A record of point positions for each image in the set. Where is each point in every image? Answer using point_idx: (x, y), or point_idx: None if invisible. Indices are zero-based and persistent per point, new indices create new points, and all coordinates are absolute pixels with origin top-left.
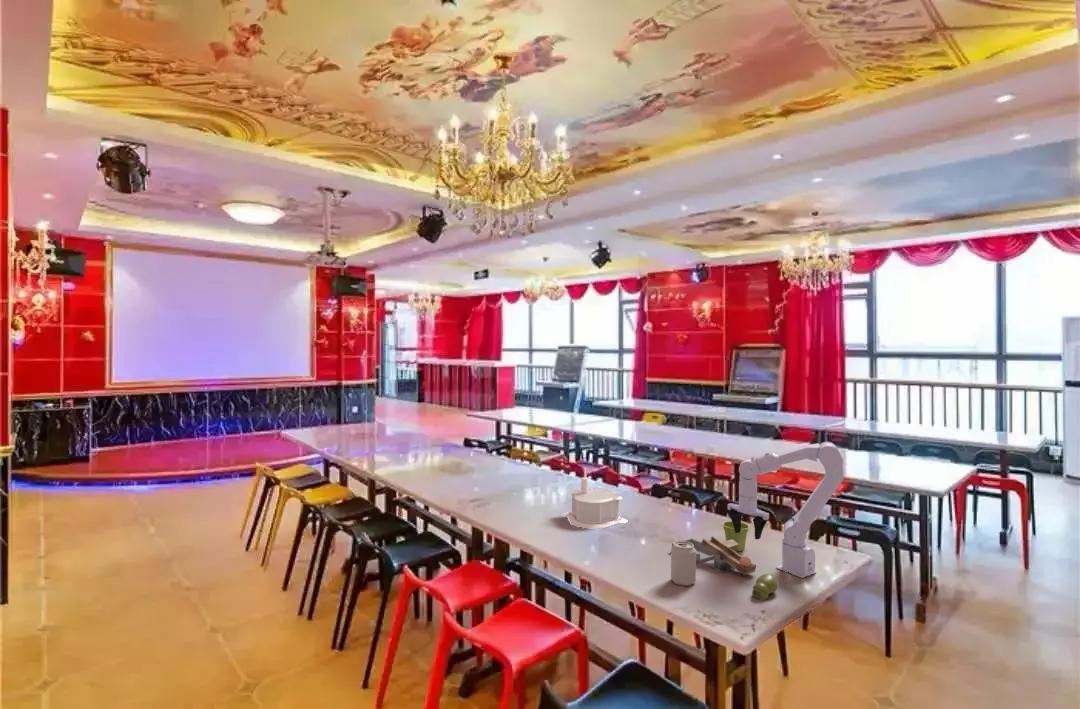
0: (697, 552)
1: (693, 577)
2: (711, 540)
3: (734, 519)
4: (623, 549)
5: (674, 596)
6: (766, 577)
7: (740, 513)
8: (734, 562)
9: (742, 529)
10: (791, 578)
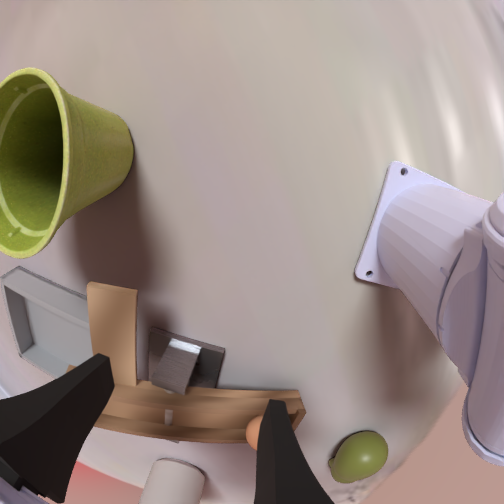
0: (60, 322)
1: (202, 488)
2: None
3: (71, 467)
4: (8, 374)
5: (210, 495)
6: (363, 477)
7: (25, 458)
8: (235, 441)
9: (59, 218)
10: (418, 324)
